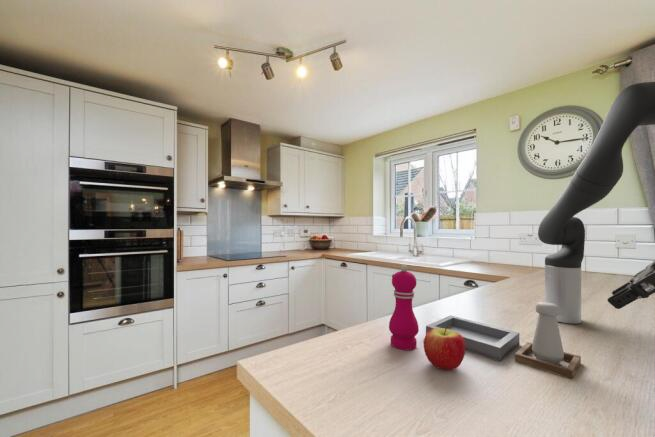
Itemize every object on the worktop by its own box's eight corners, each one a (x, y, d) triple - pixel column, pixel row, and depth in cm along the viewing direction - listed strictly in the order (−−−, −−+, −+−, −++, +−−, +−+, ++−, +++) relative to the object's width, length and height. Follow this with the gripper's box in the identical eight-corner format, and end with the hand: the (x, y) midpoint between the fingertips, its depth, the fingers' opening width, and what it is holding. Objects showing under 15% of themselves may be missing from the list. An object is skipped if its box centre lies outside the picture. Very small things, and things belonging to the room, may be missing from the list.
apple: (446, 381, 56) (447, 329, 57) (414, 362, 64) (415, 316, 64) (474, 371, 60) (474, 323, 60) (441, 355, 68) (441, 311, 68)
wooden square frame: (527, 348, 72) (527, 342, 72) (580, 363, 65) (580, 356, 65) (514, 360, 65) (514, 353, 65) (572, 378, 58) (572, 371, 58)
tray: (450, 325, 88) (450, 315, 88) (519, 344, 74) (519, 332, 74) (425, 337, 78) (425, 325, 78) (500, 361, 65) (500, 347, 65)
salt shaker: (570, 369, 62) (570, 307, 62) (539, 366, 63) (539, 306, 63) (554, 357, 67) (554, 300, 67) (526, 354, 68) (527, 299, 69)
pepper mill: (420, 342, 75) (421, 264, 75) (416, 353, 68) (417, 268, 69) (392, 337, 78) (392, 262, 78) (385, 347, 71) (386, 265, 72)
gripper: (681, 229, 56) (599, 280, 64) (687, 230, 46) (590, 289, 55) (729, 260, 52) (635, 310, 60) (746, 268, 42) (631, 326, 51)
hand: (613, 300), depth 57 cm, fingers open, 8 cm apart
